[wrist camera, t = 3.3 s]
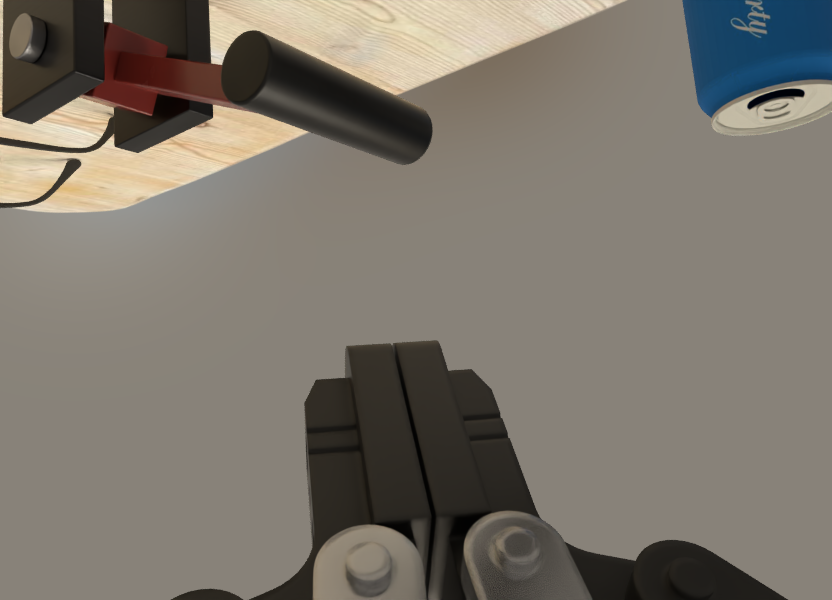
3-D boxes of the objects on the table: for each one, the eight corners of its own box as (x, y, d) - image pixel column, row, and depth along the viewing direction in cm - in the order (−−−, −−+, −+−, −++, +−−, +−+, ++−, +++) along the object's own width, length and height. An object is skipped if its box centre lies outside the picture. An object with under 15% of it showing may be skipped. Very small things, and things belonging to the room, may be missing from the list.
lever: (282, 14, 16) (254, 125, 17) (444, 97, 21) (420, 182, 21) (7, -6, 24) (-9, 70, 25) (170, 57, 29) (155, 120, 29)
